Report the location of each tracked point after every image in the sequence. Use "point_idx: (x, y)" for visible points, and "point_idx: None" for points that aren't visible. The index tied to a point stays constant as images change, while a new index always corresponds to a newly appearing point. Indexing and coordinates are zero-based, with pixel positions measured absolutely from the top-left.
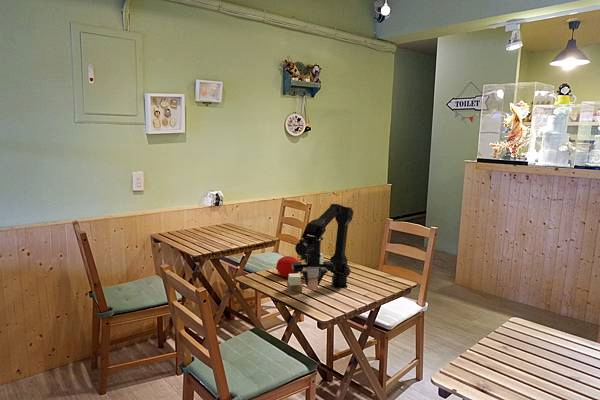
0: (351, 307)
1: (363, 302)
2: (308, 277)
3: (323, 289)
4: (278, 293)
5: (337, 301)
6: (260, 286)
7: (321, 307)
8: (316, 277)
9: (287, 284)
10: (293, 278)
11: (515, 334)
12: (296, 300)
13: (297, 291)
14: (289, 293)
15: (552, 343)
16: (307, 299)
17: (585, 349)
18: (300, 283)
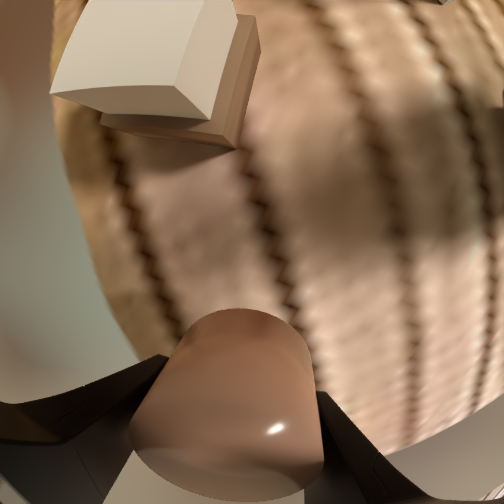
0: (400, 438)
1: (479, 397)
2: (149, 440)
3: (443, 143)
4: (81, 119)
5: (402, 375)
6: (61, 20)
7: None
8: (287, 476)
9: None
10: (87, 94)
11: (495, 491)
12: (142, 276)
13: (192, 140)
14: (137, 135)
15: (493, 499)
16: (226, 289)
17: None
18: (201, 114)
